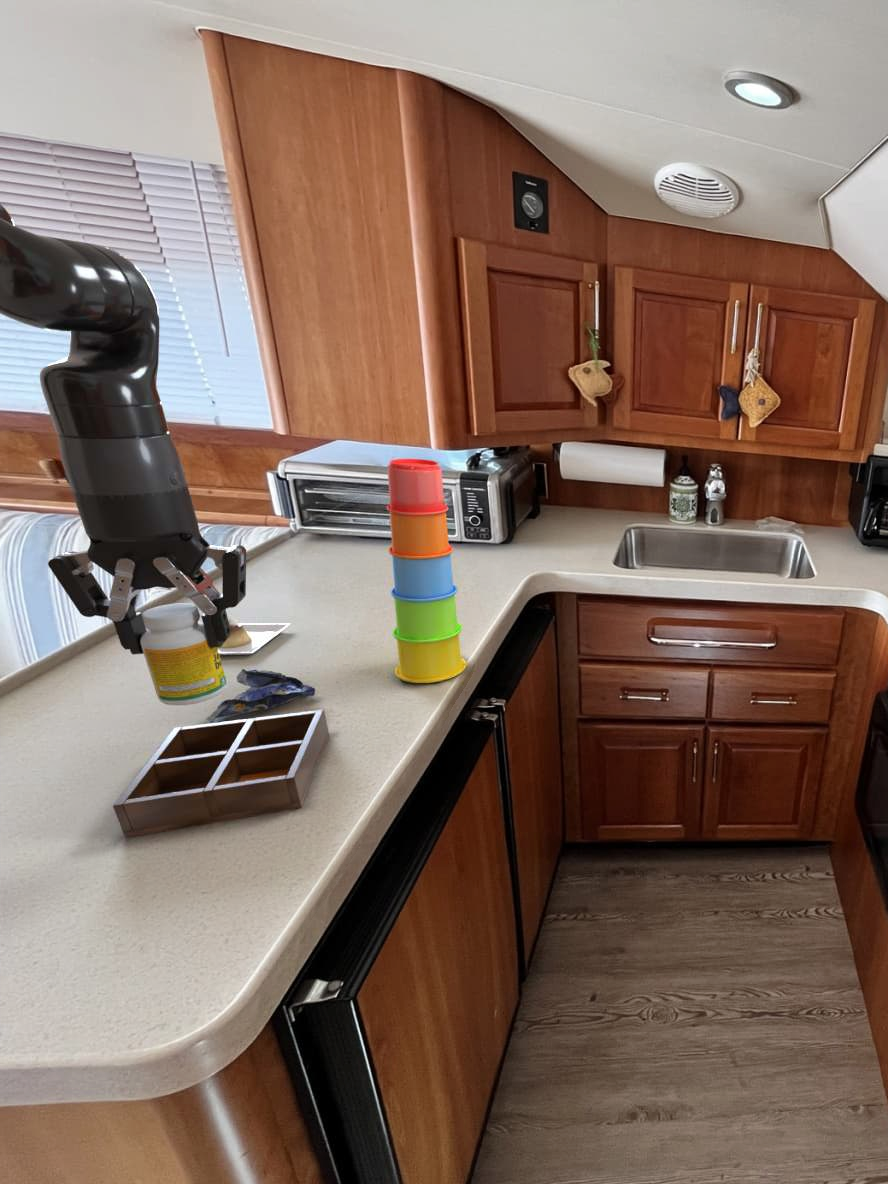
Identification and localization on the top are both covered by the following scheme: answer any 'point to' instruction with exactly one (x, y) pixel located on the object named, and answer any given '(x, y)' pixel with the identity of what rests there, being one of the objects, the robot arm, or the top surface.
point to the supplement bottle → (181, 655)
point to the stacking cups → (422, 574)
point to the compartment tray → (224, 772)
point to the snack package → (262, 693)
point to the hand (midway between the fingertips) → (180, 647)
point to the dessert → (249, 637)
